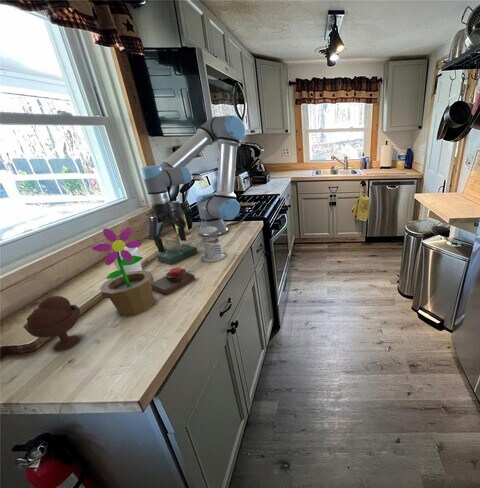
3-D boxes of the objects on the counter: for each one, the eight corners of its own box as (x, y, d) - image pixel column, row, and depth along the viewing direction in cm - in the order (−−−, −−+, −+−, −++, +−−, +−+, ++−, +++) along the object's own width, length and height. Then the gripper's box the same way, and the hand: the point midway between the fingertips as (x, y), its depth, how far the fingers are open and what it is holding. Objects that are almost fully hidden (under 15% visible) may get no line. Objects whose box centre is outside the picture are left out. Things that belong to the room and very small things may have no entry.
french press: (229, 254, 126) (219, 204, 116) (210, 265, 117) (197, 211, 107) (214, 251, 130) (203, 202, 120) (195, 261, 120) (181, 209, 110)
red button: (177, 270, 105) (176, 266, 105) (184, 272, 103) (182, 268, 103) (168, 274, 102) (167, 271, 101) (174, 277, 100) (173, 273, 100)
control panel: (184, 249, 134) (182, 243, 133) (198, 252, 129) (196, 247, 128) (157, 260, 123) (155, 254, 121) (171, 264, 118) (169, 258, 117)
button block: (179, 274, 110) (177, 266, 108) (195, 279, 105) (193, 270, 104) (151, 288, 100) (148, 279, 98) (167, 294, 96) (164, 285, 94)
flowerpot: (124, 325, 81) (86, 236, 69) (103, 312, 87) (64, 228, 75) (169, 300, 92) (142, 220, 80) (146, 290, 99) (119, 215, 87)
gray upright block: (167, 252, 124) (163, 238, 121) (170, 250, 126) (166, 236, 123) (179, 253, 122) (175, 238, 119) (182, 251, 124) (178, 237, 121)
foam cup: (152, 275, 109) (143, 247, 104) (131, 286, 101) (120, 257, 96) (136, 272, 112) (126, 245, 107) (115, 283, 104) (103, 254, 99)
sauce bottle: (184, 236, 151) (175, 203, 143) (175, 236, 152) (165, 203, 144) (191, 232, 157) (183, 200, 149) (182, 232, 158) (174, 200, 150)
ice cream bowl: (62, 331, 79) (39, 290, 73) (100, 328, 80) (81, 287, 74) (29, 359, 69) (-1, 314, 63) (73, 356, 70) (47, 311, 64)
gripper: (143, 210, 102) (159, 258, 111) (187, 195, 125) (197, 236, 133) (128, 209, 104) (144, 256, 112) (174, 195, 126) (185, 235, 135)
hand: (173, 246), depth 123 cm, fingers open, 13 cm apart
